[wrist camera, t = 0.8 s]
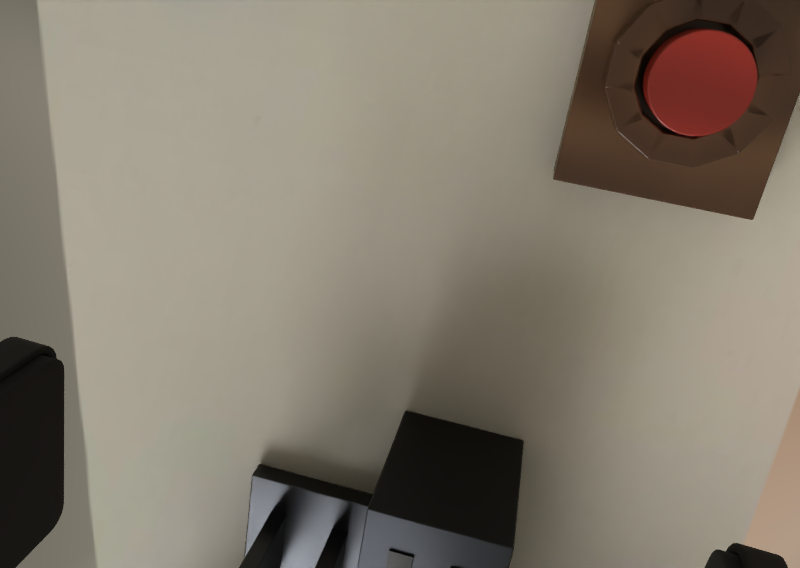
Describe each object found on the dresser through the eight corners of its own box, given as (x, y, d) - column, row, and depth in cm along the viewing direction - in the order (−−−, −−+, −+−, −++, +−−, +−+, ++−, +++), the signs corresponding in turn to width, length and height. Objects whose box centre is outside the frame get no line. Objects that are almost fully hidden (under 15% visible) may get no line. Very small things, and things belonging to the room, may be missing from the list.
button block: (613, -78, 31) (620, -88, 28) (831, -44, 30) (868, -50, 27) (553, 169, 36) (552, 188, 32) (742, 207, 35) (763, 232, 31)
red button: (659, 20, 29) (664, 20, 28) (762, 37, 29) (773, 39, 27) (631, 119, 31) (634, 126, 29) (728, 138, 30) (737, 145, 29)
